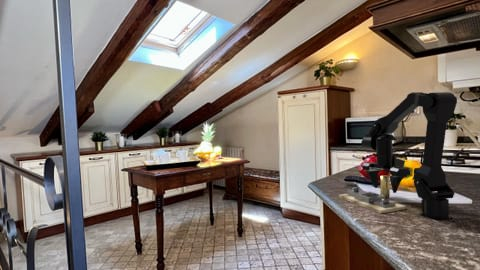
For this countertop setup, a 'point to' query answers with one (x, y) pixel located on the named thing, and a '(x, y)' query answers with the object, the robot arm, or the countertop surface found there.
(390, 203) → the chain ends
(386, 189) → the brass pin
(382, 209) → the wooden board
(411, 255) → the countertop surface
